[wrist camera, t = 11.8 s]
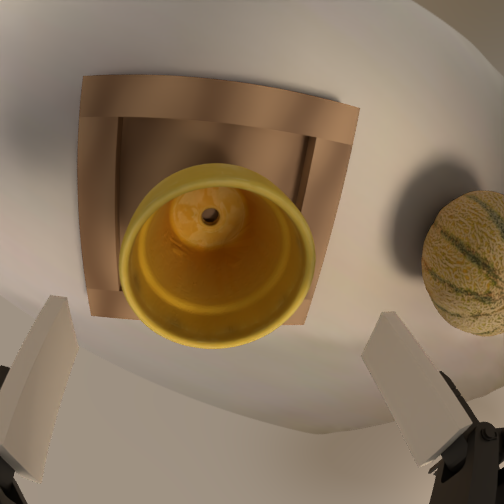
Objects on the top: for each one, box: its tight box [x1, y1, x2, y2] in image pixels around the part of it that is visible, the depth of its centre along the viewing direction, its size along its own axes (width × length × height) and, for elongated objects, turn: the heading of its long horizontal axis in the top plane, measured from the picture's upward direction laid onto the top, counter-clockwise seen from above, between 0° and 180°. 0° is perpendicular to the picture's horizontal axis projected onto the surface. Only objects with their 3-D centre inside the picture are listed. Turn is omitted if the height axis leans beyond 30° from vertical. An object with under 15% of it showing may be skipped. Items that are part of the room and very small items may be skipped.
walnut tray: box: [77, 75, 360, 325], centre depth 24 cm, size 20×20×3 cm
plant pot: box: [119, 163, 316, 349], centre depth 20 cm, size 10×10×10 cm
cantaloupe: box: [421, 191, 504, 336], centre depth 24 cm, size 15×15×15 cm
